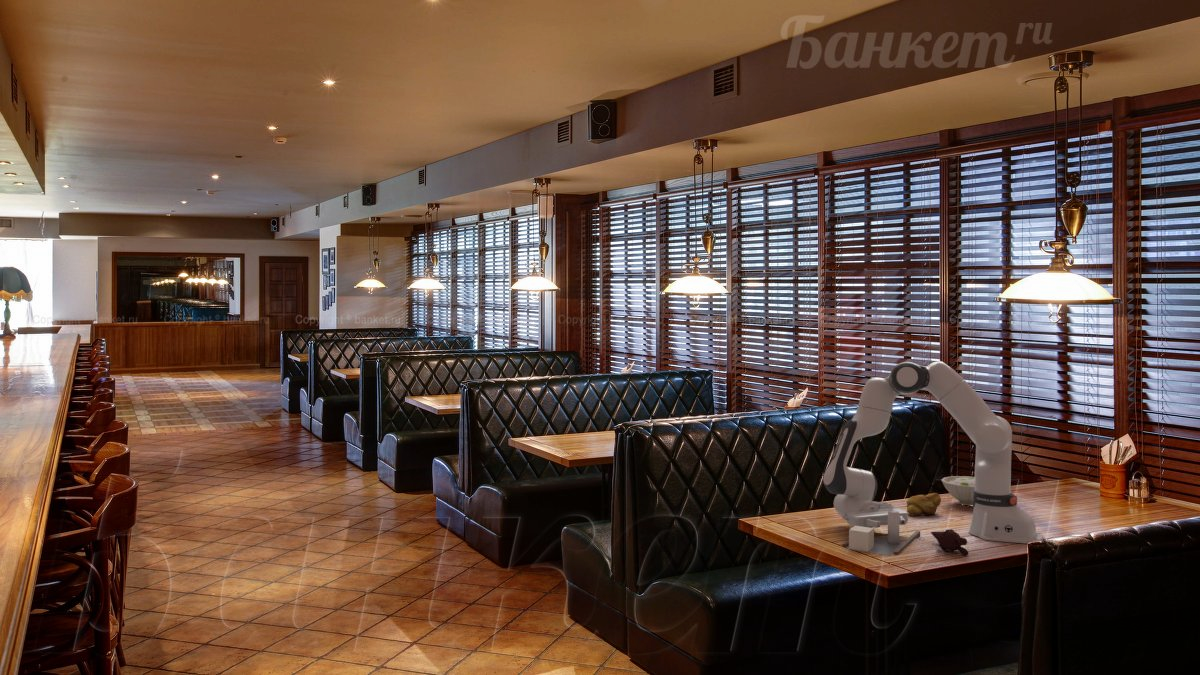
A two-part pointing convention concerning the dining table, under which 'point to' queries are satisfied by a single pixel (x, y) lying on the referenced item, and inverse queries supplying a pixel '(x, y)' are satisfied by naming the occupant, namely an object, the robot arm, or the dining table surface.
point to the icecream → (951, 541)
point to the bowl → (960, 488)
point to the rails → (902, 546)
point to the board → (882, 547)
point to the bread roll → (923, 504)
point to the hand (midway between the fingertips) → (891, 523)
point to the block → (861, 538)
